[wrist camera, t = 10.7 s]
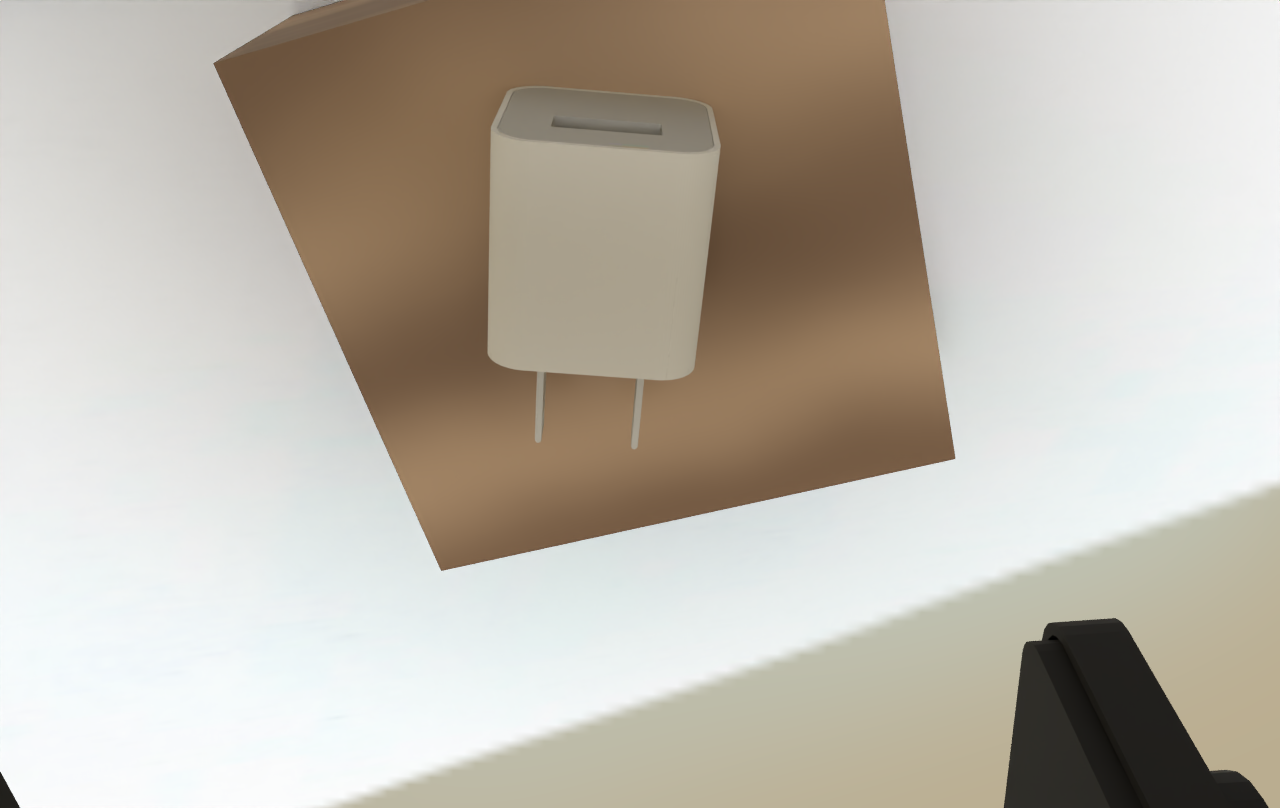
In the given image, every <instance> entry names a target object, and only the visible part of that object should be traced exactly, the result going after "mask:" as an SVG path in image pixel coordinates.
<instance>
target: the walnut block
mask: <svg viewBox="0 0 1280 808" xmlns="http://www.w3.org/2000/svg"><path fill="white" fill-rule="evenodd" d="M214 66H215V68H216V70H217V72H218V75H219V77H220V79H221V81H222V83H223V86H224V88H225V90H226V92H227V95H228V97H229V99H230V101H231V104H232V106H233V108H234V110H235V112H236V115H237V117H238V119H239V121H240V124H241V126H242V128H243V130H244V132H245V135H246V137H247V139H248V141H249V144H250V146H251V148H252V150H253V153H254V155H255V157H256V159H257V161H258V164H259V166H260V168H261V170H262V173H263V175H264V177H265V179H266V181H267V184H268V186H269V188H270V190H271V193H272V195H273V197H274V199H275V202H276V204H277V206H278V208H279V210H280V213H281V215H282V217H283V219H284V222H285V224H286V226H287V228H288V231H289V233H290V235H291V237H292V239H293V242H294V244H295V246H296V248H297V251H298V253H299V255H300V257H301V259H302V262H303V264H304V266H305V268H306V271H307V273H308V275H309V277H310V280H311V282H312V284H313V286H314V288H315V291H316V293H317V295H318V297H319V300H320V302H321V304H322V306H323V308H324V311H325V313H326V315H327V317H328V320H329V322H330V324H331V326H332V329H333V331H334V333H335V335H336V337H337V340H338V342H339V344H340V346H341V349H342V351H343V353H344V355H345V357H346V360H347V362H348V364H349V366H350V369H351V371H352V373H353V375H354V378H355V380H356V382H357V384H358V386H359V389H360V391H361V393H362V395H363V398H364V400H365V402H366V404H367V407H368V409H369V411H370V413H371V415H372V418H373V420H374V422H375V424H376V427H377V429H378V431H379V433H380V435H381V438H382V440H383V442H384V444H385V447H386V449H387V451H388V453H389V456H390V458H391V460H392V462H393V464H394V467H395V469H396V471H397V473H398V476H399V478H400V480H401V482H402V484H403V487H404V489H405V491H406V493H407V496H408V498H409V500H410V502H411V505H412V507H413V509H414V511H415V513H416V516H417V518H418V520H419V522H420V525H421V527H422V529H423V531H424V533H425V536H426V538H427V540H428V542H429V545H430V547H431V549H432V551H433V554H434V556H435V558H436V560H437V562H438V565H439V567H440V569H441V571H443V570H447V569H452V568H457V567H461V566H466V565H470V564H475V563H480V562H484V561H489V560H493V559H498V558H502V557H507V556H512V555H516V554H521V553H525V552H530V551H535V550H539V549H544V548H548V547H553V546H558V545H562V544H567V543H571V542H576V541H581V540H585V539H590V538H594V537H599V536H603V535H608V534H613V533H617V532H622V531H626V530H631V529H636V528H640V527H645V526H649V525H654V524H659V523H663V522H668V521H672V520H677V519H682V518H686V517H691V516H695V515H700V514H704V513H709V512H714V511H718V510H723V509H727V508H732V507H737V506H741V505H746V504H750V503H755V502H760V501H764V500H769V499H773V498H778V497H783V496H787V495H792V494H796V493H801V492H805V491H810V490H815V489H819V488H824V487H828V486H833V485H838V484H842V483H847V482H851V481H856V480H861V479H865V478H870V477H874V476H879V475H884V474H888V473H893V472H897V471H902V470H906V469H911V468H916V467H920V466H925V465H929V464H934V463H939V462H943V461H948V460H952V459H955V453H954V446H953V440H952V434H951V427H950V421H949V414H948V408H947V401H946V395H945V388H944V382H943V375H942V369H941V362H940V356H939V350H938V343H937V337H936V330H935V324H934V317H933V311H932V304H931V298H930V291H929V285H928V278H927V272H926V265H925V259H924V253H923V246H922V240H921V233H920V227H919V220H918V214H917V207H916V201H915V194H914V188H913V181H912V175H911V169H910V162H909V156H908V149H907V143H906V136H905V130H904V123H903V117H902V110H901V104H900V97H899V91H898V84H897V78H896V72H895V65H894V59H893V52H892V46H891V39H890V33H889V26H888V20H887V13H886V7H885V0H343V1H340V2H337V3H333V4H330V5H327V6H323V7H320V8H316V9H313V10H310V11H306V12H303V13H300V14H296V15H293V16H291V17H290V18H288V19H286V20H285V21H283V22H281V23H280V24H278V25H276V26H275V27H273V28H271V29H270V30H268V31H266V32H265V33H263V34H261V35H260V36H258V37H256V38H255V39H253V40H251V41H250V42H248V43H246V44H245V45H243V46H241V47H240V48H238V49H236V50H235V51H233V52H231V53H230V54H228V55H226V56H225V57H223V58H221V59H220V60H218V61H216V62H215V63H214ZM523 86H550V87H562V88H574V89H586V90H598V91H610V92H622V93H634V94H646V95H658V96H670V97H681V98H687V99H692V100H697V101H700V102H703V103H705V104H708V105H709V106H711V107H712V109H713V113H714V118H715V122H716V127H717V131H718V136H719V140H720V144H721V148H720V156H719V164H718V173H717V181H716V190H715V198H714V207H713V215H712V224H711V232H710V240H709V249H708V257H707V266H706V274H705V283H704V291H703V299H702V308H701V316H700V325H699V333H698V342H697V350H696V359H695V367H694V370H693V371H692V372H691V373H690V374H689V375H687V376H685V377H682V378H679V379H674V380H647V379H644V386H643V397H642V408H641V418H640V428H639V438H638V447H637V448H636V449H632V447H631V429H632V417H633V406H634V394H635V383H636V379H634V378H620V377H606V376H592V375H578V374H565V373H551V372H546V390H545V411H544V427H543V433H542V439H541V442H539V443H537V442H536V441H535V417H536V390H537V371H523V370H515V369H510V368H507V367H504V366H501V365H499V364H497V363H495V362H494V361H493V360H491V359H490V357H489V356H488V288H489V218H490V148H491V125H492V123H493V121H494V119H495V117H496V115H497V112H498V110H499V108H500V106H501V104H502V102H503V99H504V97H505V95H506V93H507V91H508V90H510V89H513V88H517V87H523Z"/></svg>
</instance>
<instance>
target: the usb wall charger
mask: <svg viewBox="0 0 1280 808" xmlns="http://www.w3.org/2000/svg"><path fill="white" fill-rule="evenodd" d="M720 148H721V144H720V140H719V136H718V131H717V127H716V122H715V118H714V113H713V109H712V107H711V106H709V105H708V104H705V103H703V102H700V101H697V100H692V99H687V98H681V97H670V96H658V95H646V94H634V93H622V92H610V91H598V90H586V89H574V88H562V87H550V86H523V87H517V88H513V89H510V90H508V91H507V93H506V95H505V97H504V99H503V102H502V104H501V106H500V108H499V110H498V112H497V115H496V117H495V119H494V121H493V123H492V125H491V148H490V218H489V288H488V356H489V357H490V359H491V360H493V361H494V362H495V363H497V364H499V365H501V366H504V367H507V368H510V369H515V370H523V371H537V390H536V417H535V441H536V442H537V443H539V442H541V439H542V433H543V427H544V411H545V390H546V372H551V373H565V374H578V375H592V376H606V377H620V378H634V379H636V383H635V394H634V406H633V417H632V429H631V447H632V449H636V448H637V447H638V438H639V428H640V418H641V408H642V397H643V386H644V379H647V380H674V379H679V378H682V377H685V376H687V375H689V374H690V373H691V372H692V371H693V370H694V367H695V359H696V350H697V342H698V333H699V325H700V316H701V308H702V299H703V291H704V283H705V274H706V266H707V257H708V249H709V240H710V232H711V224H712V215H713V207H714V198H715V190H716V181H717V173H718V164H719V156H720Z"/></svg>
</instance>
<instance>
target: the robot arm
mask: <svg viewBox="0 0 1280 808" xmlns="http://www.w3.org/2000/svg"><path fill="white" fill-rule="evenodd" d="M0 808H20V807H19V805H18V803H17V801H16V800H15V798H14V796H13V794H12V792H11V790H10V789H9V787H8V785H7V783H6V781H5V779H4V778H3V776H2V774H1V772H0ZM1004 808H1268V806H1267V805H1266V803H1265V801H1264V799H1263V798H1262V797H1261V795H1260V794H1259V793H1258V791H1257V790H1256V789H1255V787H1254V786H1253V785H1252V783H1251V782H1250V781H1249V780H1247V779H1246V778H1245V777H1244V776H1242V775H1241V774H1240V773H1238V772H1236V771H1229V770H1218V771H1209V769H1208V767H1207V765H1206V764H1205V762H1204V760H1203V759H1202V757H1201V755H1200V753H1199V752H1198V750H1197V748H1196V747H1195V745H1194V743H1193V741H1192V740H1191V738H1190V736H1189V734H1188V733H1187V731H1186V729H1185V728H1184V726H1183V724H1182V722H1181V721H1180V719H1179V717H1178V716H1177V714H1176V712H1175V710H1174V709H1173V707H1172V705H1171V704H1170V702H1169V700H1168V698H1167V697H1166V695H1165V693H1164V691H1163V690H1162V688H1161V686H1160V685H1159V683H1158V681H1157V679H1156V678H1155V676H1154V674H1153V672H1152V671H1151V669H1150V667H1149V666H1148V664H1147V662H1146V660H1145V659H1144V657H1143V655H1142V654H1141V652H1140V650H1139V648H1138V647H1137V645H1136V643H1135V642H1134V640H1133V638H1132V636H1131V634H1130V633H1129V631H1128V630H1127V628H1126V627H1125V626H1124V624H1123V623H1122V622H1121V621H1119V620H1118V619H1116V618H1112V619H1099V620H1083V621H1070V622H1055V623H1049V624H1048V625H1047V626H1046V628H1045V629H1044V634H1043V638H1042V641H1029V642H1026V644H1025V645H1024V648H1023V653H1022V661H1021V669H1020V677H1019V686H1018V694H1017V702H1016V711H1015V719H1014V727H1013V737H1012V744H1011V752H1010V761H1009V770H1008V778H1007V786H1006V795H1005V803H1004Z"/></svg>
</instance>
